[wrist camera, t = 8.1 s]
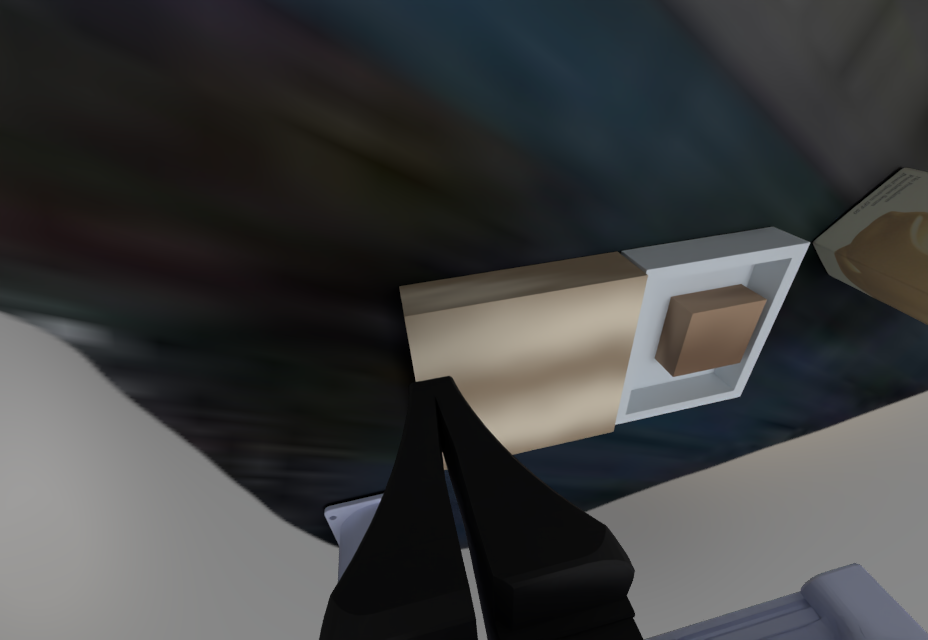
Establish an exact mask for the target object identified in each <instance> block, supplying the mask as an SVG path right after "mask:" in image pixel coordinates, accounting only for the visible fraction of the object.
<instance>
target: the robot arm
mask: <svg viewBox="0 0 928 640" xmlns="http://www.w3.org/2000/svg"><path fill="white" fill-rule="evenodd" d="M442 452H443V454H442ZM443 456H444V459H445V462H446V466H447V469H448V472H449V476H450V479H451V482H452V485H453V489H454V492H455V495H456V499H457V502H458V505H459V508H460V512H461V515H462V519H463V523H464V527H465V531H466V536H467V541H468V546H469V550H470V555H471V559H472V565H473V570H474V574H475V579H476V584H477V589H478V594H479V599H480V604H481V609H482V613H483V618H484V623H485V628H486V633H487V639H488V640H643V638H642V636H641V633H640V632H639V629H638V627H637V625H636V623H635V621H634V619H633V617H634V616H635V613H634V610H633V608H632V606H631V604H630V601H629V600H628V597H627V594H628V591H629V589H630V586H631V584H632V581H633V578H634V572H635V570H634V568H633V566H632V564H631V561H630V559H629V558H628V556H627V554H626V552H625V551H624V549H623V548H622V547H621V545H620V544H619V542H618V541H617V539H616V538H615V536H614V535H613V534H612V532H611V531H610V530H609V529H608V527H607V526H606V525H604V524H602V523H601V522H599V521H598V520H596V519H595V518H593V517H592V516H590V515H588V514H587V513H585V512H584V511H582V510H581V509H579V508H578V507H576V506H575V505H573V504H572V503H571V502H569V501H568V500H566V499H565V498H564V497H562V496H561V495H559V494H558V493H557V492H555V491H554V490H553V489H552V488H550V487H549V486H548V485H547V484H545V483H544V482H543V481H542V480H540V479H539V478H538V477H537V476H535V475H534V474H533V473H532V472H531V471H529V470H528V469H527V468H526V467H525V466H524V465H523V464H522V463H521V462H519V461H518V460H517V459H516V458H515V457H514V456H513V455H512V454H511V453H510V452H509V451H508V450H507V449H506V448H505V447H504V446H503V445H502V444H501V443H500V442H499V441H498V439H497V438H496V437H495V436H494V435H493V434H492V433H491V432H490V431H489V429H488V428H487V427H486V426H485V425H484V423H483V422H482V421H481V420H480V418H479V417H478V416H477V415H476V413H475V412H474V411H473V409H472V408H471V407H470V405H469V404H468V402H467V401H466V400H465V398H464V397H463V395H462V394H461V392H460V390H459V389H458V387H457V385H456V383H455V381H454V379H453V378H452V377H451V376H445V377H440V378H434V379H429V380H424V381H418V382H413V383H411V384H410V385H409V403H408V410H407V417H406V421H405V426H404V431H403V435H402V439H401V443H400V447H399V450H398V454H397V457H396V460H395V464H394V467H393V470H392V473H391V475H390V478H389V481H388V483H387V486H386V489H385V491H384V493H383V494H379V495H375V496H370V497H366V498H362V499H357V500H353V501H349V502H344V503H340V504H336V505H331V506H328V507H327V508H325V511H324V515H325V517H326V519H327V522H328V524H329V526H330V528H331V530H332V532H333V534H334V536H335V538H336V541H337V543H338V545H339V571H338V584H337V585H336V587H335V589H334V590H333V592H332V594H331V595H330V598H329V601H328V605H327V609H326V612H325V615H324V620H323V624H322V628H321V633H320V638H319V640H478V638H477V637H478V636H477V626H476V617H475V612H474V608H473V602H472V598H471V593H470V588H469V584H468V579H467V575H466V571H465V566H464V562H463V558H462V553H461V549H460V545H459V540H458V536H457V531H456V527H455V522H454V518H453V513H452V509H451V504H450V500H449V495H448V490H447V486H446V481H445V474H444V464H443ZM644 640H928V633H927V632H926V631H925V630H924V629H923V628H922V627H921V626H920V625H919V624H918V623H917V622H916V621H915V620H914V619H913V618H912V617H911V616H910V615H909V614H908V613H907V612H906V611H905V610H904V609H903V608H902V607H901V606H900V605H899V604H898V603H897V602H896V601H895V600H894V599H893V598H892V597H891V596H890V595H889V594H888V593H887V591H886V590H885V589H884V588H883V587H882V586H881V585H880V584H879V583H878V582H877V581H876V580H875V579H874V578H873V577H872V576H871V575H870V574H869V573H868V572H867V571H866V570H865V569H864V568H863V567H862V566H861V565H860V564H856V563H853V564H850V565H847V566H843V567H840V568H837V569H834V570H830V571H827V572H824V573H821V574H818V575H816V576H815V577H813V578H811V579H810V580H808V581H807V582H806V583H805V584H804V585H803V586H802V588H801V591H800V592H797V593H793V594H790V595H787V596H784V597H780V598H777V599H774V600H771V601H768V602H764V603H761V604H758V605H754V606H751V607H748V608H745V609H741V610H738V611H735V612H732V613H728V614H725V615H722V616H719V617H716V618H713V619H709V620H706V621H703V622H699V623H696V624H693V625H690V626H686V627H683V628H680V629H677V630H673V631H670V632H667V633H664V634H660V635H657V636H654V637H651V638H647V639H644Z"/></svg>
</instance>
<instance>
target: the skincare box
mask: <svg viewBox="0 0 928 640" xmlns="http://www.w3.org/2000/svg"><path fill="white" fill-rule="evenodd" d="M813 245H814V247H815V249H816V251H817V253H818V256H819V258H820V260H821V262H822V263H823V265H824V267H825V269H826V271H827V272H828V274H829V275H830V276H832V277H834V278H836V279H838V280H840V281H842V282H844V283H846V284H848V285H850V286H852V287H854V288H856V289H858V290H860V291H862V292H864V293H866V294H868V295H870V296H872V297H874V298H876V299H878V300H880V301H882V302H884V303H886V304H888V305H890V306H892V307H894V308H896V309H898V310H900V311H902V312H904V313H906V314H908V315H909V316H911V317H913V318H915V319H917V320H919V321H921V322H923V323H925V324H927V325H928V172H924V171H919V170H915V169H911V168H903V169H902V170H900V171H899V172H897V173H896V174H895V175H894V176H893V177H891V178H890V179H889V180H888V181H886V182H885V183H884V184H883V185H881V186H880V187H879V188H878V189H876V190H875V191H874V192H873V193H871V194H870V195H869V196H868V197H866V198H865V199H864V200H863V201H862V202H860V203H859V204H858V205H856V206H855V207H854V208H853V209H852V210H851V211H849V212H848V213H847V214H845V215H844V216H843V217H842V218H841V219H840V220H838V221H837V222H836V223H835V224H833V225H832V226H831V227H830V228H829V229H827V230H826V231H825V232H824V233H823V234H821V235H820V236H819V237H818V238H817V239H815V240H814V241H813Z"/></svg>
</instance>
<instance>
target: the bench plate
mask: <svg viewBox="0 0 928 640" xmlns="http://www.w3.org/2000/svg"><path fill="white" fill-rule="evenodd" d="M647 278H648V275H647V274H646V273H645V272H643V271H642V270H641V269H640V268H638V267H637V266H636V265H634V264H633V263H632V262H630V261H629V260H628V259H626V258H625V257H624V256H623V255H621V254H620V253H619V252H611V253H605V254H599V255H592V256H586V257H580V258H573V259H567V260H561V261H555V262H548V263H542V264H536V265H530V266H523V267H517V268H511V269H505V270H498V271H492V272H486V273H480V274H473V275H467V276H461V277H455V278H448V279H442V280H436V281H429V282H423V283H417V284H411V285H404V286H399V289H400V295H401V300H402V306H403V312H404V318H405V324H406V329H407V335H408V340H409V346H410V352H411V357H412V363H413V368H414V374H415V380H416V382H418V381H424V380H429V379H434V378H440V377H445V376H451V377H452V378H453V379H454V381H455V383H456V385H457V387H458V389H459V390H460V392H461V394H462V395H463V397H464V398H465V400H466V401H467V402H468V404H469V405H470V407H471V408H472V409H473V411H474V412H475V413H476V415H477V416H478V417H479V418H480V420H481V421H482V422H483V423H484V425H485V426H486V427H487V428H488V429H489V431H490V432H491V433H492V434H493V435H494V436H495V437H496V438H497V439H498V441H499V442H500V443H501V444H502V445H503V446H504V447H505V448H506V449H507V450H508V451H509V452H510V453H511V454H512V455H513V454H517V453H521V452H526V451H530V450H535V449H539V448H543V447H548V446H552V445H557V444H561V443H565V442H570V441H574V440H578V439H583V438H587V437H592V436H596V435H600V434H605V433H609V432H613V431H614V427H615V422H616V418H617V413H618V409H619V404H620V400H621V395H622V391H623V386H624V382H625V377H626V373H627V368H628V364H629V359H630V355H631V350H632V346H633V341H634V337H635V332H636V328H637V323H638V319H639V314H640V310H641V305H642V301H643V296H644V292H645V287H646V283H647ZM442 454H443V452H442ZM443 464H444V470H447V466H446V462H445V459H444V456H443Z"/></svg>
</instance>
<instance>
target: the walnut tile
mask: <svg viewBox="0 0 928 640" xmlns="http://www.w3.org/2000/svg"><path fill="white" fill-rule="evenodd" d="M766 301H767V299H765V298H764V297H762V296H760V295H759V294H757V293H755V292H754V291H752V290H750V289H749V288H747V287H745V286H744V285H742V284H739V285H733V286H728V287H722V288H716V289H711V290H705V291H700V292H694V293H689V294H683V295H678V296H672V297H671V299H670V302H669V306H668V310H667V314H666V317H665V321H664V325H663V329H662V332H661V336H660V340H659V344H658V347H657V351H656V355H655V359H656V360H657V361H658V362H659V363H660V364H661V365H662V366H663V367H664V369H665V370H666V371H667V372H668V373H669V374H670V375H671V376H672V377H676V376H681V375H686V374H690V373H695V372H700V371H705V370H709V369H714V368H719V367H723V366H728V365H733V364H737V363H740V362H741V359H742V357H743V355H744V352H745V350H746V348H747V345H748V343H749V341H750V338H751V336H752V334H753V331H754V329H755V327H756V324H757V322H758V320H759V317H760V315H761V313H762V310H763V308H764V306H765V303H766Z"/></svg>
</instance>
